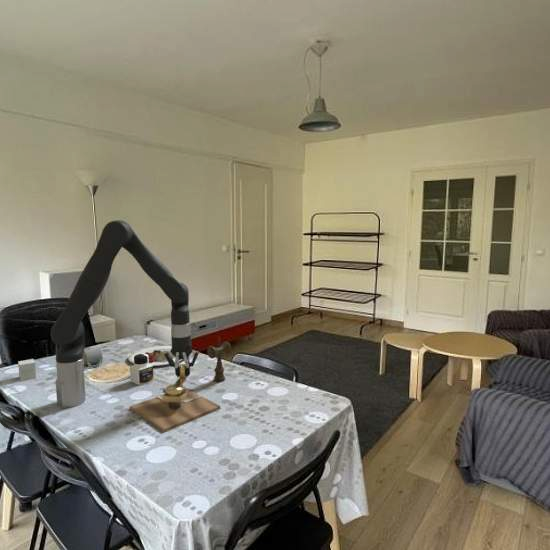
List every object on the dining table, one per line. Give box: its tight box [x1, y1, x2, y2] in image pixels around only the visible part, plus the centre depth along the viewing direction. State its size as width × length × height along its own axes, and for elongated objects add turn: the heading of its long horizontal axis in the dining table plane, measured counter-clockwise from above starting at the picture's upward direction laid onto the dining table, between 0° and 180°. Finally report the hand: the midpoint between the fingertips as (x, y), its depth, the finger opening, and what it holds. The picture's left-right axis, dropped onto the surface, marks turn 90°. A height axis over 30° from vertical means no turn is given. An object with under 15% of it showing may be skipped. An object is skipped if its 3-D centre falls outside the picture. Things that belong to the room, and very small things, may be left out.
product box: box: [17, 358, 37, 382], centre depth 176 cm, size 6×6×7 cm
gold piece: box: [162, 363, 188, 402], centre depth 151 cm, size 15×9×9 cm, turn 175°
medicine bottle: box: [129, 354, 154, 386], centre depth 173 cm, size 7×7×12 cm
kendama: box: [206, 336, 232, 382], centre depth 174 cm, size 6×10×20 cm, turn 134°
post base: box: [129, 387, 221, 433], centre depth 148 cm, size 24×24×6 cm
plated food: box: [127, 345, 184, 367], centre depth 203 cm, size 30×30×3 cm
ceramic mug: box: [83, 346, 104, 369], centre depth 193 cm, size 11×8×8 cm
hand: (183, 376), depth 157 cm, fingers closed on gold piece, 3 cm apart
